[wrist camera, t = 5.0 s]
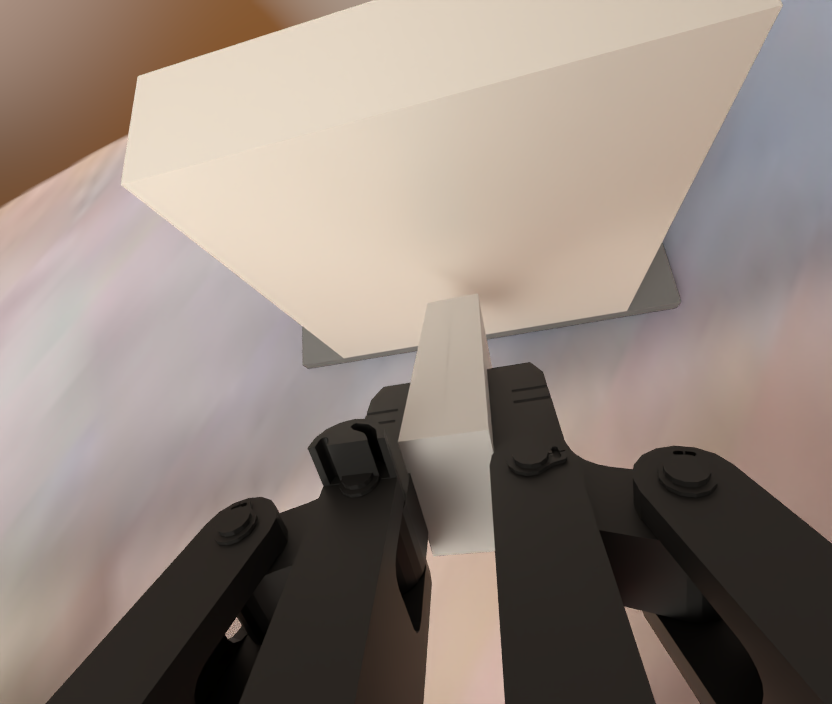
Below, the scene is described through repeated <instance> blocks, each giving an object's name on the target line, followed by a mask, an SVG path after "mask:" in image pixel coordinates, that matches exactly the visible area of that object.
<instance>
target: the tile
mask: <svg viewBox="0 0 832 704" xmlns="http://www.w3.org/2000/svg"><path fill="white" fill-rule="evenodd" d="M782 6H783V4H782V2H781V0H374V1H370V2H367V3H364V4H361V5H358V6H354V7H351V8H348V9H345V10H342V11H339V12H336V13H333V14H330V15H327V16H323V17H320V18H317V19H314V20H311V21H308V22H305V23H302V24H299V25H296V26H293V27H290V28H286V29H283V30H280V31H277V32H274V33H271V34H268V35H264V36H261V37H258V38H255V39H252V40H249V41H246V42H243V43H240V44H237V45H234V46H230V47H227V48H224V49H221V50H218V51H215V52H212V53H209V54H205V55H202V56H199V57H196V58H193V59H190V60H187V61H184V62H181V63H178V64H175V65H171V66H168V67H165V68H162V69H159V70H156V71H153V72H150V73H147V74H144V75H140V76H138V79H137V85H136V91H135V98H134V105H133V110H132V117H131V123H130V129H129V136H128V142H127V148H126V155H125V161H124V167H123V174H122V180H121V185H122V186H123V187H124V188H126V189H127V190H128V191H130V192H131V193H132V194H133V195H135V196H136V197H137V198H139V199H140V200H141V201H142V202H144V203H145V204H146V205H147V206H149V207H150V208H151V209H153V210H154V211H155V212H156V213H158V214H159V215H160V216H162V217H163V218H164V219H165V220H167V221H168V222H169V223H171V224H172V225H173V226H174V227H176V228H177V229H178V230H180V231H181V232H182V233H183V234H185V235H186V236H187V237H189V238H190V239H191V240H192V241H194V242H195V243H196V244H198V245H199V246H200V247H201V248H203V249H204V250H205V251H207V252H208V253H209V254H210V255H212V256H213V257H214V258H216V259H217V260H218V261H219V262H221V263H222V264H223V265H225V266H226V267H227V268H228V269H230V270H231V271H232V272H234V273H235V274H236V275H237V276H239V277H240V278H241V279H243V280H244V281H245V282H246V283H248V284H249V285H250V286H252V287H253V288H254V289H255V290H257V291H258V292H259V293H261V294H262V295H263V296H264V297H266V298H267V299H268V300H270V301H271V302H272V303H273V304H275V305H276V306H277V307H279V308H280V309H281V310H282V311H284V312H285V313H286V314H288V315H289V316H290V317H291V318H293V319H294V320H295V321H297V322H298V323H299V324H300V325H302V326H303V327H304V328H305V329H307V330H308V331H309V332H311V333H312V334H313V335H314V336H316V337H317V338H318V339H320V340H321V341H322V342H323V343H325V344H326V345H327V346H329V347H330V348H331V349H332V350H334V351H335V352H336V353H338V354H339V355H340V356H341V357H343V358H349V357H355V356H361V355H367V354H373V353H379V352H384V351H390V350H396V349H402V348H408V347H414V346H418V345H419V341H420V336H421V331H422V326H423V322H424V317H425V312H426V308H427V303H430V302H435V301H441V300H446V299H451V298H456V297H461V296H467V295H472V294H477V293H478V295H479V301H480V306H481V311H482V317H483V322H484V327H485V333H486V334H492V333H498V332H504V331H510V330H516V329H522V328H528V327H534V326H540V325H546V324H552V323H558V322H564V321H570V320H576V319H582V318H588V317H594V316H600V315H606V314H612V313H618V312H624V311H627V310H628V308H629V306H630V304H631V302H632V300H633V298H634V296H635V294H636V292H637V290H638V288H639V286H640V284H641V282H642V280H643V278H644V277H645V275H646V273H647V271H648V269H649V267H650V265H651V263H652V261H653V259H654V257H655V255H656V253H657V251H658V249H659V247H660V245H661V243H662V241H663V239H664V237H665V235H666V233H667V231H668V229H669V227H670V226H671V224H672V222H673V220H674V218H675V216H676V214H677V212H678V210H679V208H680V206H681V204H682V202H683V200H684V198H685V196H686V194H687V192H688V190H689V188H690V186H691V184H692V182H693V180H694V178H695V176H696V175H697V173H698V171H699V169H700V167H701V165H702V163H703V161H704V159H705V157H706V155H707V153H708V151H709V149H710V147H711V145H712V143H713V141H714V139H715V137H716V135H717V133H718V131H719V129H720V127H721V125H722V124H723V122H724V120H725V118H726V116H727V114H728V112H729V110H730V108H731V106H732V104H733V102H734V100H735V98H736V96H737V94H738V92H739V90H740V88H741V86H742V84H743V82H744V80H745V78H746V76H747V74H748V73H749V71H750V69H751V67H752V65H753V63H754V61H755V59H756V57H757V55H758V53H759V51H760V49H761V47H762V45H763V43H764V41H765V39H766V37H767V35H768V33H769V31H770V29H771V27H772V25H773V23H774V22H775V20H776V18H777V16H778V14H779V12H780V10H781V8H782Z"/></svg>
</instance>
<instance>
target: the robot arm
mask: <svg viewBox="0 0 832 704" xmlns="http://www.w3.org/2000/svg"><path fill="white" fill-rule="evenodd" d="M308 450H309V452H310V455H311V457H312V460H313V462H314V464H315V467H316V469H317V472H318V474H319V476H320V479H321V481H322V484H323V489H322V491H321V494H320V497H319V498H318V499H316V500H314V501H312V502H309V503H307V504H304V505H301V506H298V507H296V508H293V509H290V510H287V511H285V512H282V513H279V512H278V510H277V508H276V506H275V505H274V503H273V502H272V500H269V499H266V498H263V497H256V498H248V499H245V500H242V501H239V502H236V503H234V504H232V505H230V506H229V507H227V508H225V509H224V510H222V511H220V512H219V513H218V514H217V515H216V516H215V517H214V518H212V519H211V520H210V521H209V522H208V523H207V524H206V525H205V526H204V527H203V529H202V530H201V531H200V532H199V533H198V534H197V535H196V536H195V537H194V539H193V540H192V541H191V542H190V543H189V544H188V545H187V546H186V548H185V549H184V550H183V551H182V552H181V553H180V554H179V555H178V556H177V558H176V559H175V560H174V561H173V562H172V563H171V564H170V565H169V567H168V568H167V569H166V570H165V571H164V572H163V573H162V574H161V575H160V577H159V578H158V579H157V580H156V581H155V582H154V583H153V584H152V586H151V587H150V588H149V589H148V590H147V591H146V592H145V593H144V594H143V596H142V597H141V598H140V599H139V600H138V601H137V602H136V603H135V605H134V606H133V607H132V608H131V609H130V610H129V611H128V612H127V613H126V615H125V616H124V617H123V618H122V619H121V620H120V621H119V622H118V624H117V625H116V626H115V627H114V628H113V629H112V630H111V631H110V632H109V634H108V635H107V636H106V637H105V638H104V639H103V640H102V641H101V643H100V644H99V645H98V646H97V647H96V648H95V649H94V650H93V651H92V653H91V654H90V655H89V656H88V657H87V658H86V659H85V660H84V661H83V663H82V664H81V665H80V666H79V667H78V668H77V669H76V670H75V672H74V673H73V674H72V675H71V676H70V677H69V678H68V679H67V680H66V682H65V683H64V684H63V685H62V686H61V687H60V688H59V689H58V691H57V692H56V693H55V694H54V695H53V696H52V697H51V698H50V699H49V701H48V702H47V703H46V704H423V701H424V687H425V673H426V658H427V644H428V630H429V616H430V601H431V587H432V581H431V575H430V570H429V567H428V564H427V561H426V553H427V542H428V540H429V543H430V546H431V550H432V553H433V556H444V555H456V554H468V553H480V552H492V551H495V558H496V573H497V588H498V603H499V618H500V633H501V648H502V663H503V678H504V693H505V704H656V703H655V700H654V697H653V694H652V691H651V688H650V685H649V681H648V678H647V675H646V672H645V669H644V666H643V663H642V660H641V657H640V654H639V651H638V648H637V645H636V642H635V639H634V636H633V633H632V629H631V626H630V623H629V620H628V617H627V614H626V611H625V608H624V606H625V607H629V608H633V609H638V610H642V612H643V614H644V616H645V618H646V619H647V621H648V623H649V624H650V626H651V627H652V629H653V630H654V632H655V634H656V635H657V637H658V638H659V640H660V641H661V643H662V644H663V646H664V648H665V649H666V651H667V652H668V654H669V655H670V657H671V658H672V660H673V662H674V663H675V665H676V666H677V668H678V669H679V671H680V673H681V674H682V676H683V677H684V679H685V680H686V682H687V683H688V685H689V687H690V688H691V690H692V691H693V693H694V694H695V696H696V698H697V699H698V701H699V702H700V704H832V543H830V542H829V541H828V540H827V539H826V538H824V537H823V536H822V535H821V534H819V533H818V532H817V531H816V530H814V529H813V528H812V527H811V526H809V525H808V524H807V523H806V522H804V521H803V520H802V519H801V518H799V517H798V516H797V515H796V514H794V513H793V512H792V511H791V510H789V509H788V508H787V507H786V506H784V505H783V504H782V503H781V502H779V501H778V500H777V499H776V498H774V497H773V496H772V495H771V494H770V493H768V492H767V491H766V490H765V489H763V488H762V487H761V486H760V485H758V484H757V483H756V482H755V481H753V480H752V479H751V478H750V477H748V476H747V475H746V474H745V473H743V472H742V471H741V470H740V469H738V468H737V467H736V466H735V465H733V464H732V463H730V462H729V461H727V460H725V459H724V458H722V457H720V456H718V455H717V454H715V453H711V452H708V451H705V450H701V449H698V448H694V447H682V446H670V447H663V448H656V449H654V450H652V451H650V452H648V453H646V454H643V455H642V456H641V457H640V458H639V459H638V461H637V462H636V463H635V464H634V468H633V469H624V468H615V467H608V466H603V465H597V464H595V463H592V462H589V461H586V460H584V459H582V458H581V457H579V456H577V455H576V454H575V453H573V452H572V451H571V449H570V448H569V446H568V445H567V444H566V442H565V440H564V437H563V434H562V431H561V428H560V425H559V421H558V418H557V415H556V412H555V409H554V406H553V402H552V399H551V397H550V393H549V390H548V387H547V383H546V380H545V377H544V374H543V371H541V370H540V369H539V368H537V367H536V366H535V365H533V364H532V363H531V362H528V363H522V364H516V365H509V366H503V367H497V368H492V365H491V360H490V354H489V349H488V344H487V338H486V333H485V327H484V322H483V317H482V311H481V306H480V301H479V295H478V293H477V294H472V295H467V296H461V297H456V298H451V299H446V300H441V301H435V302H430V303H427V308H426V312H425V317H424V322H423V326H422V331H421V336H420V341H419V345H418V350H417V355H416V359H415V364H414V369H413V373H412V378H411V383H406V384H400V385H393V386H387V387H383V388H382V389H381V390H380V391H379V392H378V393H377V394H376V396H375V397H374V398H373V399H372V400H371V403H370V406H369V409H368V411H367V416H366V417H365V419H353V420H350V421H346V422H342V423H339V424H337V425H335V426H333V427H331V428H329V429H326V430H325V431H324V432H322V433H321V434H320V435H319V436H317V437H316V438H315V439H314V440H313V442H312V443H311V444H310V446H309V447H308ZM236 617H237V618H238V620H239V621H240V623H241V624H242V626H241V628H240V629H239V631H238V632H237V633H236V634H235V635H234V636H233V637H232V638H230V639H227V637H226V636H225V633H226V632H227V630H228V629H229V627H230V626H231V624H232V623H233V621H234V620H235V619H236Z"/></svg>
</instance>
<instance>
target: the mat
mask: <svg viewBox="0 0 832 704" xmlns="http://www.w3.org/2000/svg"><path fill="white" fill-rule="evenodd" d="M680 303H681V300H680V296H679V293H678V290H677V287H676V284H675V281H674V277H673V274H672V271H671V268H670V265H669V262H668V258H667V255H666V252H665V249H664V246H663V243H661V245H660V247H659V249H658V251H657V253H656V255H655V257H654V259H653V261H652V263H651V265H650V267H649V269H648V271H647V273H646V275H645V277H644V278H643V280H642V282H641V284H640V286H639V288H638V290H637V292H636V294H635V296H634V298H633V300H632V302H631V304H630V306H629V308H628V310H627V311H624V312H618V313H612V314H606V315H600V316H594V317H588V318H582V319H576V320H570V321H564V322H558V323H552V324H546V325H540V326H534V327H528V328H522V329H516V330H510V331H504V332H498V333H492V334H486V338H487V339H492V338H498V337H504V336H510V335H516V334H522V333H528V332H534V331H540V330H546V329H552V328H558V327H565V326H571V325H577V324H583V323H589V322H595V321H601V320H607V319H613V318H619V317H625V316H631V315H637V314H643V313H649V312H655V311H661V310H667V309H674V308H677V307H678V305H679V304H680ZM302 344H303V366H305V367H306V368H308V369H310V368H316V367H322V366H328V365H334V364H340V363H347V362H353V361H359V360H365V359H371V358H377V357H383V356H389V355H395V354H401V353H407V352H413V351H417V350H418V346H414V347H408V348H402V349H396V350H390V351H384V352H379V353H373V354H367V355H361V356H355V357H349V358H343V357H341V356H340V355H339V354H338V353H336V352H335V351H334V350H332V349H331V348H330V347H329V346H327V345H326V344H325V343H323V342H322V341H321V340H320V339H318V338H317V337H316V336H314V335H313V334H312V333H311V332H309V331H308V330H307V329H305V328H304V327H303V326H302Z"/></svg>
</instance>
